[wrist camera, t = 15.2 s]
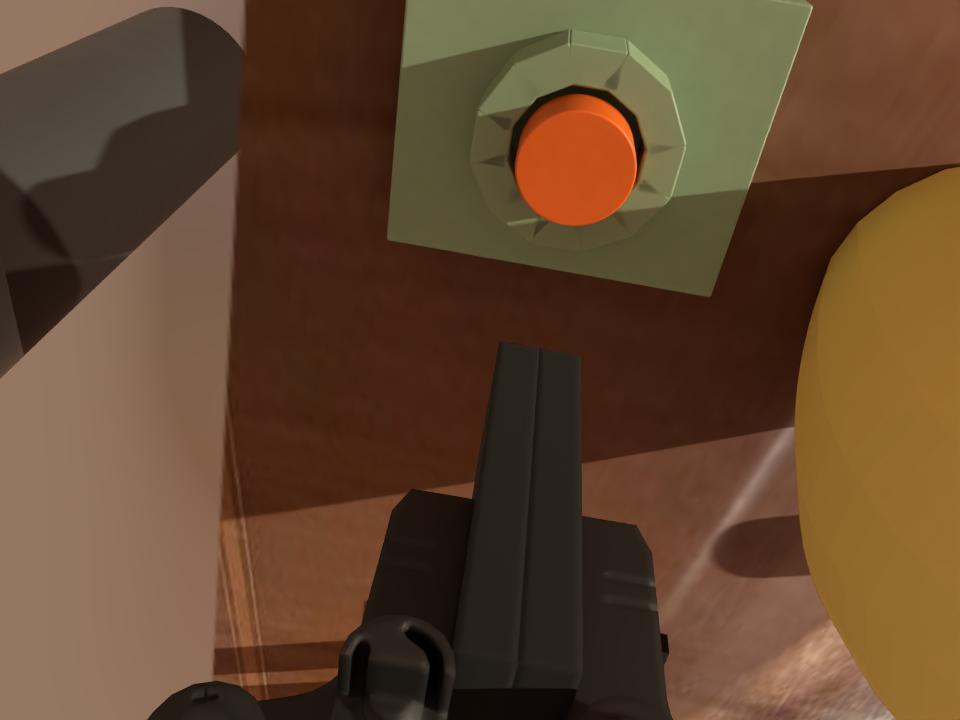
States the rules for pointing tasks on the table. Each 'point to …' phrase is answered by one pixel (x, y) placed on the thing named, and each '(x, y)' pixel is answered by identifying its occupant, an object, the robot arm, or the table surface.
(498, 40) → the control block
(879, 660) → the vase
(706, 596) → the table surface
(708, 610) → the table surface
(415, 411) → the table surface
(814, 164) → the table surface
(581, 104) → the button
